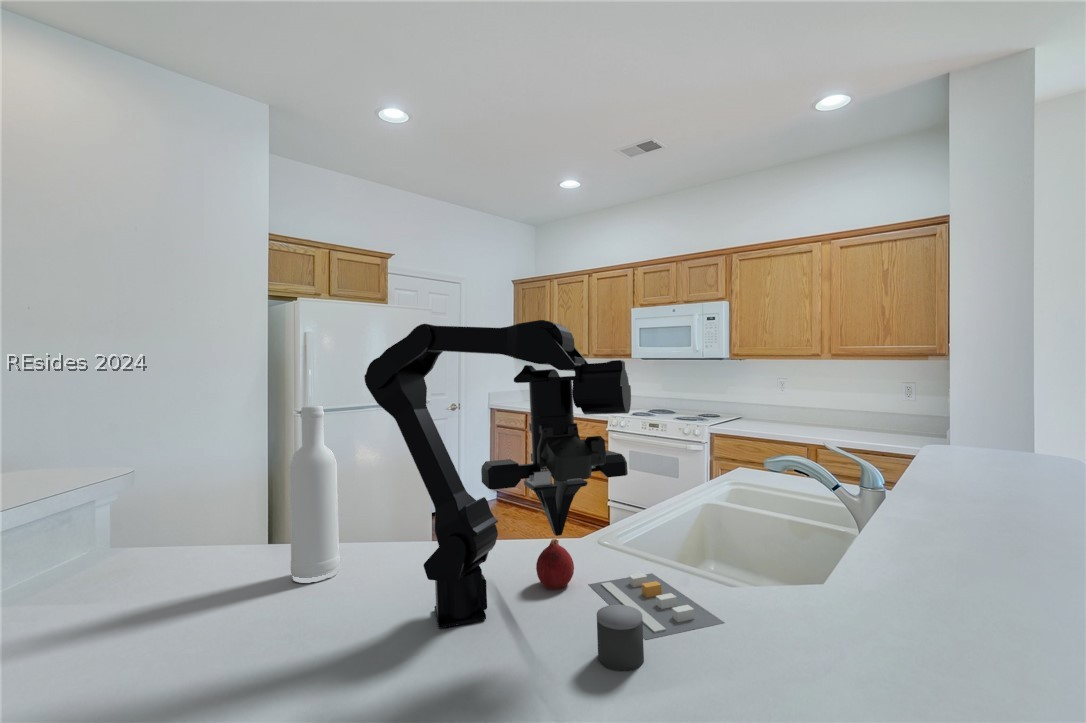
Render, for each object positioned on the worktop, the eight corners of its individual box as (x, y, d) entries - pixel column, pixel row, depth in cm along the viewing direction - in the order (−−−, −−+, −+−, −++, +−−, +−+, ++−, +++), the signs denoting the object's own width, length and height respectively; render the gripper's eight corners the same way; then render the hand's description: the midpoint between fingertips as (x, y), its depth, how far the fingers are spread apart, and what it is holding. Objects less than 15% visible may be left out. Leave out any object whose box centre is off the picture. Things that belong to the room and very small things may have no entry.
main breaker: (646, 597, 70) (646, 587, 70) (642, 593, 71) (641, 583, 71) (661, 594, 71) (661, 584, 71) (656, 590, 72) (656, 581, 72)
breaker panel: (646, 650, 58) (645, 629, 59) (588, 592, 76) (587, 576, 76) (725, 632, 62) (724, 612, 62) (652, 580, 79) (651, 565, 79)
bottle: (307, 587, 83) (304, 407, 84) (281, 579, 87) (278, 408, 88) (349, 571, 89) (345, 404, 91) (322, 565, 94) (319, 405, 95)
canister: (607, 686, 52) (605, 628, 52) (592, 660, 57) (591, 607, 57) (651, 679, 53) (649, 622, 53) (634, 654, 58) (632, 602, 58)
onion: (572, 601, 73) (569, 545, 73) (533, 599, 74) (531, 545, 74) (577, 585, 78) (574, 534, 79) (541, 584, 80) (539, 533, 80)
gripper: (495, 423, 56) (501, 565, 55) (644, 413, 61) (651, 542, 60) (478, 419, 66) (483, 538, 65) (606, 411, 72) (612, 520, 71)
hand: (557, 534), depth 65 cm, fingers closed
